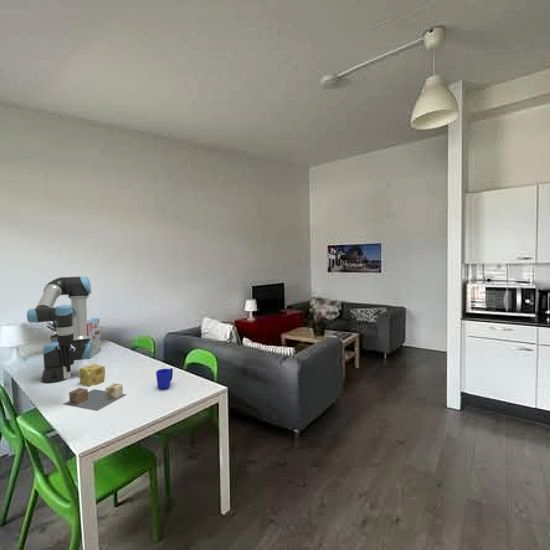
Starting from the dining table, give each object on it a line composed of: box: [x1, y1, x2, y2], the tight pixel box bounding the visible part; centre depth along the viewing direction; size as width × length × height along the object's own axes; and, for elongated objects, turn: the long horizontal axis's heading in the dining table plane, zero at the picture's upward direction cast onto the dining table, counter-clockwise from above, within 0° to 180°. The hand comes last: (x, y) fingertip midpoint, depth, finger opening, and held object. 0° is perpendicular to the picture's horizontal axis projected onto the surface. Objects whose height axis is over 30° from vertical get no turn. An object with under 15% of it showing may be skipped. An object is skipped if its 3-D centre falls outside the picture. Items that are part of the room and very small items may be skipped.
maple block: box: [104, 382, 124, 399], centre depth 180 cm, size 6×6×6 cm
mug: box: [155, 367, 174, 390], centre depth 194 cm, size 8×12×10 cm
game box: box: [87, 317, 102, 360], centre depth 256 cm, size 21×6×27 cm, turn 6°
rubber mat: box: [62, 388, 128, 412], centre depth 177 cm, size 24×20×1 cm
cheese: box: [79, 363, 106, 387], centre depth 201 cm, size 10×11×10 cm
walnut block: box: [68, 387, 89, 405], centre depth 174 cm, size 6×6×6 cm
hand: (67, 377), depth 175 cm, fingers closed
